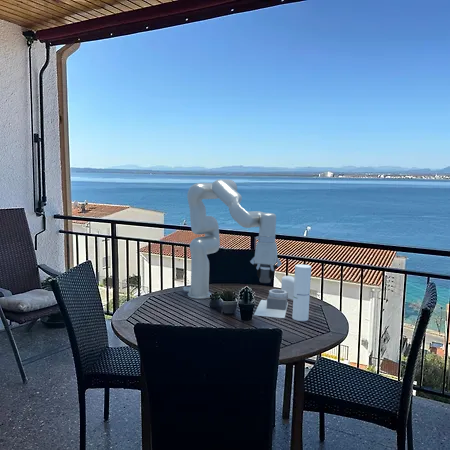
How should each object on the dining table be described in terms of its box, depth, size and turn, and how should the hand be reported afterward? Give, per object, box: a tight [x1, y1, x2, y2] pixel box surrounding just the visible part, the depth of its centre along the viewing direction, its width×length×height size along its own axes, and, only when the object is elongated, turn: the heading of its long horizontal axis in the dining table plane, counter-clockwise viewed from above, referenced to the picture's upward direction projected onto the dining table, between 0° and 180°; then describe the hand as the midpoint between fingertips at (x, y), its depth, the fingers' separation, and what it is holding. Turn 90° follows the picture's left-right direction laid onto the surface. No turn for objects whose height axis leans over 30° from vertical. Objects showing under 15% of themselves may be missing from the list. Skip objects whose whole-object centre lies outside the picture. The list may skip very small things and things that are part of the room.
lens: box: [259, 264, 271, 284], centre depth 197 cm, size 5×5×8 cm
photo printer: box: [280, 275, 295, 301], centre depth 225 cm, size 10×4×12 cm, turn 39°
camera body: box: [266, 288, 289, 311], centre depth 210 cm, size 9×14×7 cm, turn 168°
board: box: [253, 299, 289, 319], centre depth 205 cm, size 14×26×1 cm, turn 168°
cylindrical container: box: [291, 263, 312, 322], centre depth 191 cm, size 7×7×25 cm
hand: (265, 277), depth 198 cm, fingers closed on lens, 5 cm apart
